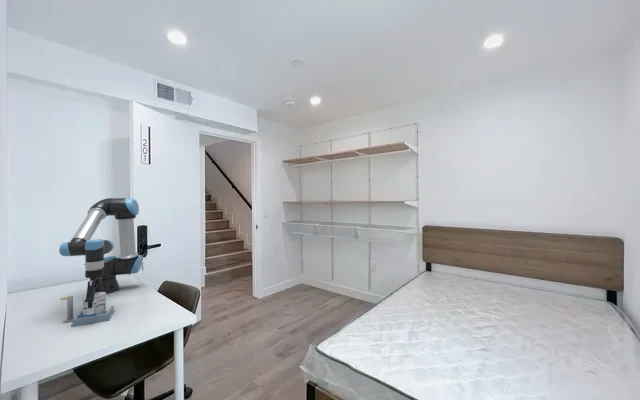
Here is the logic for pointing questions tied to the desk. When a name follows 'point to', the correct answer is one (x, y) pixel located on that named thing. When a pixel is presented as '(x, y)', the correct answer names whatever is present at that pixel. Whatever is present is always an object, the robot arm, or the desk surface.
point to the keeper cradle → (84, 320)
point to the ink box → (96, 304)
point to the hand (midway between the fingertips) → (94, 309)
